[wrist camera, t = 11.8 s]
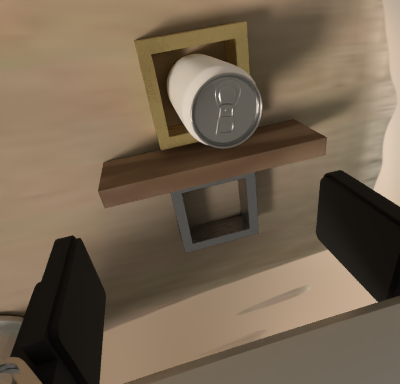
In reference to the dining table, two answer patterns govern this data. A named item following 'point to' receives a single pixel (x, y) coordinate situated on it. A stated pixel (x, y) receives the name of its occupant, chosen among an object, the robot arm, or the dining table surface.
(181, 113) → the can
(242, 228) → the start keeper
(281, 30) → the dining table surface
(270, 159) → the brown wooden plank
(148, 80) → the brass keeper
